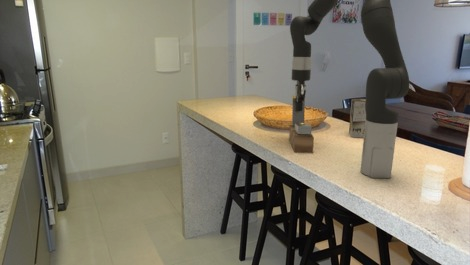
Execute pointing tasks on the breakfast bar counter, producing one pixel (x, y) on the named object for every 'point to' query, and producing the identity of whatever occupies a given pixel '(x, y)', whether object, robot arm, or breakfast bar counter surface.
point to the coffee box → (357, 118)
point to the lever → (297, 112)
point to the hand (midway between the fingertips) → (299, 110)
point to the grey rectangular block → (303, 128)
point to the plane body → (301, 141)
